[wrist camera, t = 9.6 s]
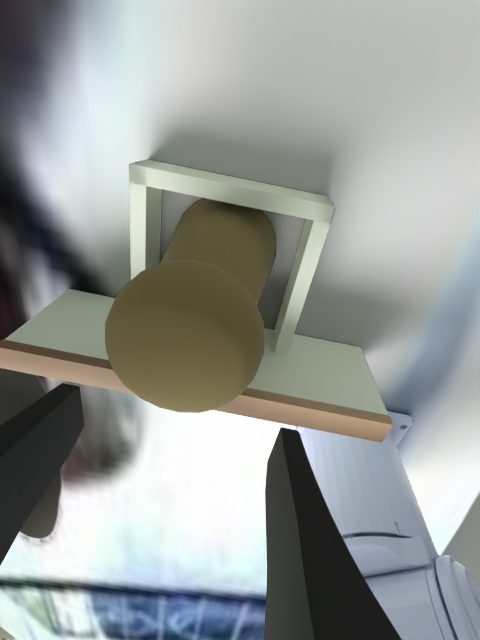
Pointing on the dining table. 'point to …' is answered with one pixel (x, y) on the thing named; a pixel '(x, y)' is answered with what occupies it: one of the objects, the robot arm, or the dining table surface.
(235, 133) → the dining table surface
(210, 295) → the cork
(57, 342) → the stand
